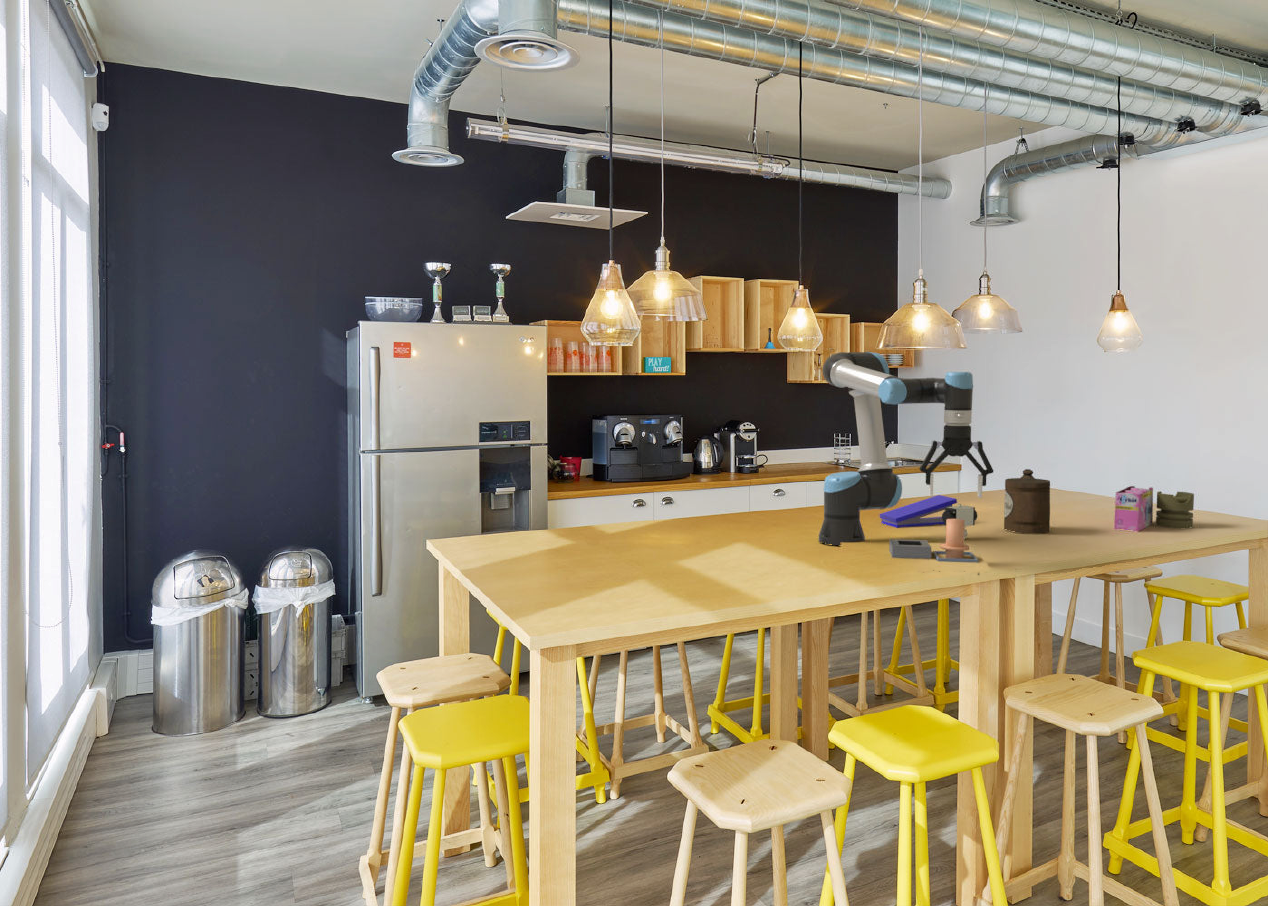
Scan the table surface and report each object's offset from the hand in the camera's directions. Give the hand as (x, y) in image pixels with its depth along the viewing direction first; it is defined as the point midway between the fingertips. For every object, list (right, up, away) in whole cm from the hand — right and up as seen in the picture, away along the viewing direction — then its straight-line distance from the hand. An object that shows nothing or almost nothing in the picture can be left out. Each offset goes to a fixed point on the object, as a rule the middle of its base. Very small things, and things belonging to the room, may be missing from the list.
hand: (955, 496), depth 249 cm
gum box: (+87, -14, +58) cm, 106 cm away
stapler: (+13, -14, +70) cm, 73 cm away
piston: (+102, -14, +58) cm, 118 cm away
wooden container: (+46, -15, +53) cm, 71 cm away
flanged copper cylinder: (0, -19, +1) cm, 19 cm away
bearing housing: (-11, -19, +7) cm, 23 cm away
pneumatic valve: (+16, -17, +39) cm, 45 cm away
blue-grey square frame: (0, -20, +1) cm, 20 cm away
